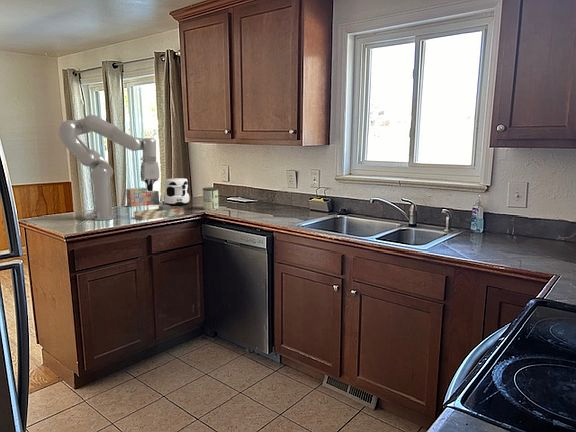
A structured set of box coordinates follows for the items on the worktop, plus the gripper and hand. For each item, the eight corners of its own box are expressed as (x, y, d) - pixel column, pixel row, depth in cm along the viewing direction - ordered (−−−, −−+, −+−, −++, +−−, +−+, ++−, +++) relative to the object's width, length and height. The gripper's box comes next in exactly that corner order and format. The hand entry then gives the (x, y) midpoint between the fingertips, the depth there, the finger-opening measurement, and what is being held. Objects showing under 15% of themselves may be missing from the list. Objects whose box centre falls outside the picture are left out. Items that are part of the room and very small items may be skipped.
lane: (142, 220, 252) (142, 213, 251) (134, 218, 258) (134, 211, 258) (184, 214, 272) (183, 208, 271) (175, 212, 278) (175, 206, 278)
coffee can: (205, 207, 298) (205, 187, 295) (220, 208, 297) (219, 187, 294) (201, 210, 288) (200, 188, 285) (216, 210, 287) (216, 189, 284)
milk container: (176, 202, 323) (175, 177, 319) (194, 203, 315) (193, 178, 312) (159, 205, 307) (158, 179, 304) (178, 207, 300) (177, 181, 296)
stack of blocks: (155, 203, 317) (154, 186, 315) (159, 204, 313) (158, 187, 311) (126, 206, 302) (125, 188, 300) (131, 207, 298) (129, 189, 296)
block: (163, 213, 264) (163, 206, 263) (158, 212, 268) (158, 205, 267) (170, 212, 268) (170, 205, 267) (166, 211, 271) (165, 204, 270)
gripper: (140, 160, 248) (141, 192, 251) (164, 160, 258) (164, 190, 262) (134, 159, 253) (135, 190, 256) (157, 159, 263) (158, 189, 267)
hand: (149, 190), depth 259 cm, fingers closed
